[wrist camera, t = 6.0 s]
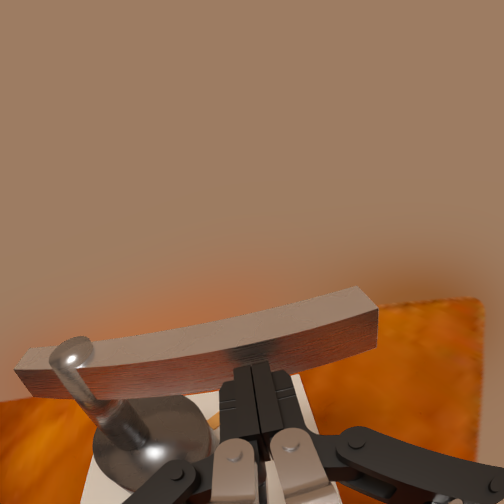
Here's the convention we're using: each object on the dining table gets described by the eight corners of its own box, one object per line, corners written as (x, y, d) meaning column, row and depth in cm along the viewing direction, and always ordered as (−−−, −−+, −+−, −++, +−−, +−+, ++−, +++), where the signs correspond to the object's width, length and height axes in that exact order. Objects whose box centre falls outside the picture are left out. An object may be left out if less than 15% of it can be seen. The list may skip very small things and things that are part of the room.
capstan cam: (95, 498, 12) (-13, 398, 8) (115, 421, 20) (47, 320, 16) (380, 470, 12) (417, 344, 8) (341, 386, 21) (334, 258, 17)
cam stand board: (80, 548, 7) (70, 544, 7) (115, 407, 24) (109, 400, 24) (356, 551, 8) (358, 550, 7) (299, 380, 25) (298, 372, 24)
